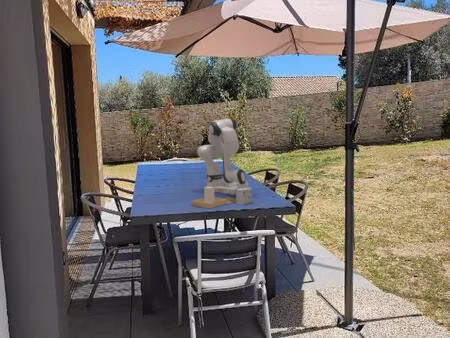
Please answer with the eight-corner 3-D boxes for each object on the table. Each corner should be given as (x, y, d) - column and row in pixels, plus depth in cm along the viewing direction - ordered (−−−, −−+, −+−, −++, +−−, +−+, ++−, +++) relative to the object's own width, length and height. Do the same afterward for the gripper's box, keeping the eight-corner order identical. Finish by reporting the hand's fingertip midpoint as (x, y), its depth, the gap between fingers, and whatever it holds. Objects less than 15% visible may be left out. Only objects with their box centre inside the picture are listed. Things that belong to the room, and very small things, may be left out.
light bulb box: (245, 201, 330) (244, 187, 328) (252, 202, 326) (252, 187, 324) (235, 204, 322) (235, 189, 320) (243, 205, 317) (243, 190, 316)
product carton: (209, 203, 326) (209, 186, 324) (214, 203, 322) (214, 187, 321) (204, 204, 322) (204, 187, 320) (209, 205, 319) (209, 188, 317)
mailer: (227, 197, 348) (226, 192, 348) (244, 199, 336) (244, 195, 336) (191, 205, 321) (191, 200, 321) (209, 208, 309) (209, 203, 309)
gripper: (221, 183, 345) (209, 186, 335) (242, 185, 331) (229, 188, 321) (222, 191, 346) (209, 194, 336) (242, 194, 332) (229, 197, 322)
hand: (219, 191), depth 329 cm, fingers open, 8 cm apart
